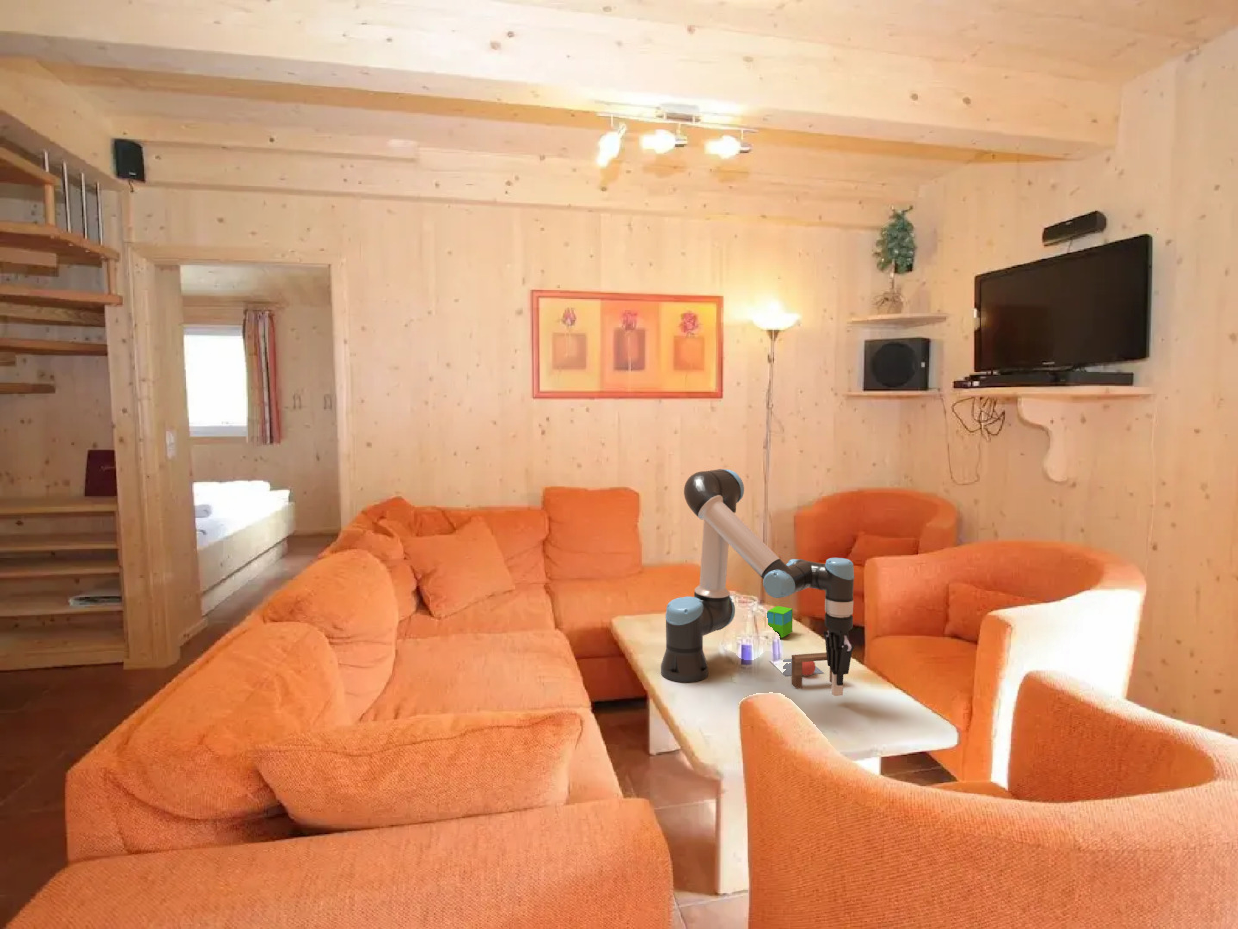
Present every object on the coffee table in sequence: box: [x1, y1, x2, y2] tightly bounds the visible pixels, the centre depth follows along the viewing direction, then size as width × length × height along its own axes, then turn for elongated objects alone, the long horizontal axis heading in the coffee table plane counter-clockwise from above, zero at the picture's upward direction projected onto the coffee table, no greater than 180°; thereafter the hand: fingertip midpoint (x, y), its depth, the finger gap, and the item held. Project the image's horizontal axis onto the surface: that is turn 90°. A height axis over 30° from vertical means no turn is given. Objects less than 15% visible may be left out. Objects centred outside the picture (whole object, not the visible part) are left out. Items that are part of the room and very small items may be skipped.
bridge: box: [790, 652, 832, 689], centre depth 196 cm, size 3×14×9 cm, turn 100°
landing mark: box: [782, 658, 825, 677], centre depth 210 cm, size 13×13×1 cm
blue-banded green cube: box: [766, 605, 794, 639], centre depth 242 cm, size 10×13×10 cm
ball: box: [802, 661, 816, 677], centre depth 203 cm, size 6×6×6 cm
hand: (837, 694), depth 183 cm, fingers closed
